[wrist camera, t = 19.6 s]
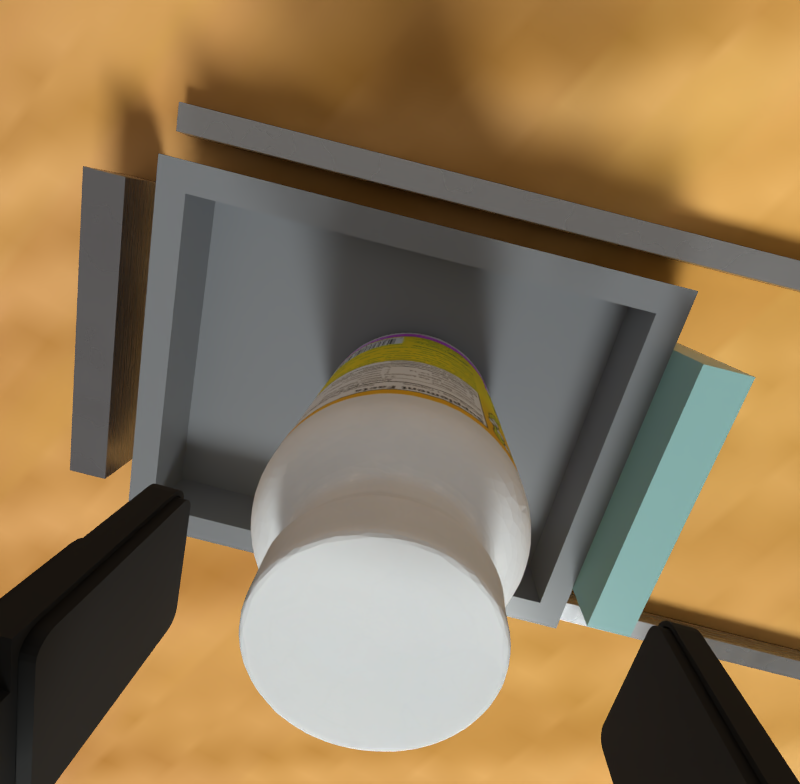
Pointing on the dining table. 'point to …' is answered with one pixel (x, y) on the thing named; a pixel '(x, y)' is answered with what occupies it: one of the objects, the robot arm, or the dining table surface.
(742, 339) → the dining table surface
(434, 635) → the supplement bottle
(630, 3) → the dining table surface
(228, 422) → the drawer
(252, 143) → the rails
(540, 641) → the dining table surface
